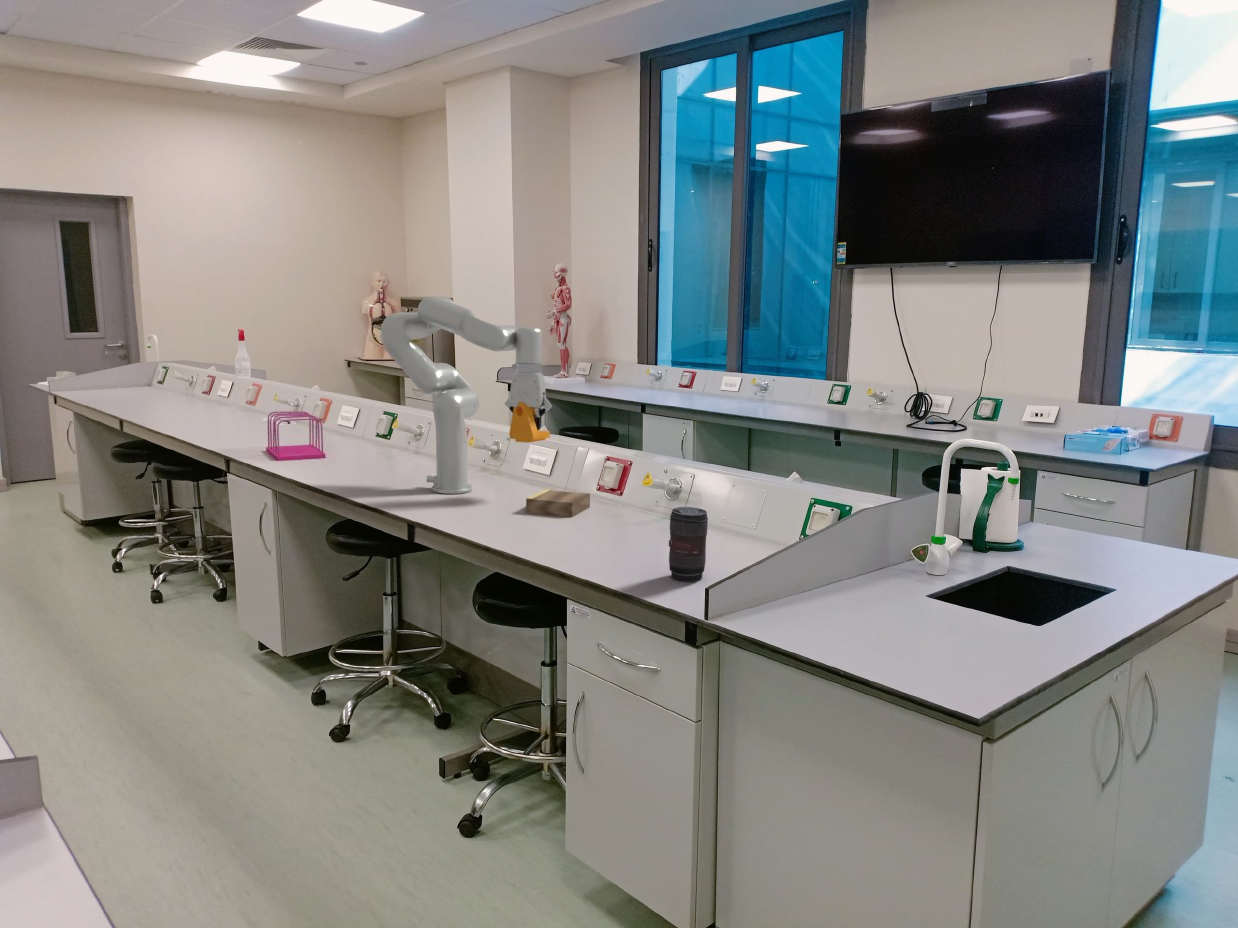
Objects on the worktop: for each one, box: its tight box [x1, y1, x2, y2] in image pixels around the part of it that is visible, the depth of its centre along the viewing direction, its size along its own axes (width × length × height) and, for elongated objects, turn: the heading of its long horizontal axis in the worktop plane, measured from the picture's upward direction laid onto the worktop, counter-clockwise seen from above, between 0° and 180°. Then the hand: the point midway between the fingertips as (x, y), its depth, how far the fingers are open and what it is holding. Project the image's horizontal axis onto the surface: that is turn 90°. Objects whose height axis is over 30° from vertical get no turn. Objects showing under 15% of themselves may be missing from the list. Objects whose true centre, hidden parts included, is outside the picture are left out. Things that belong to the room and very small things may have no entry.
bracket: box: [508, 402, 551, 443], centre depth 272 cm, size 11×7×12 cm, turn 46°
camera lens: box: [668, 506, 709, 583], centre depth 195 cm, size 8×8×15 cm
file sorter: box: [265, 410, 327, 462], centre depth 343 cm, size 17×25×16 cm
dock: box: [525, 488, 591, 518], centre depth 259 cm, size 14×14×4 cm
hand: (527, 428), depth 272 cm, fingers closed on bracket, 5 cm apart
